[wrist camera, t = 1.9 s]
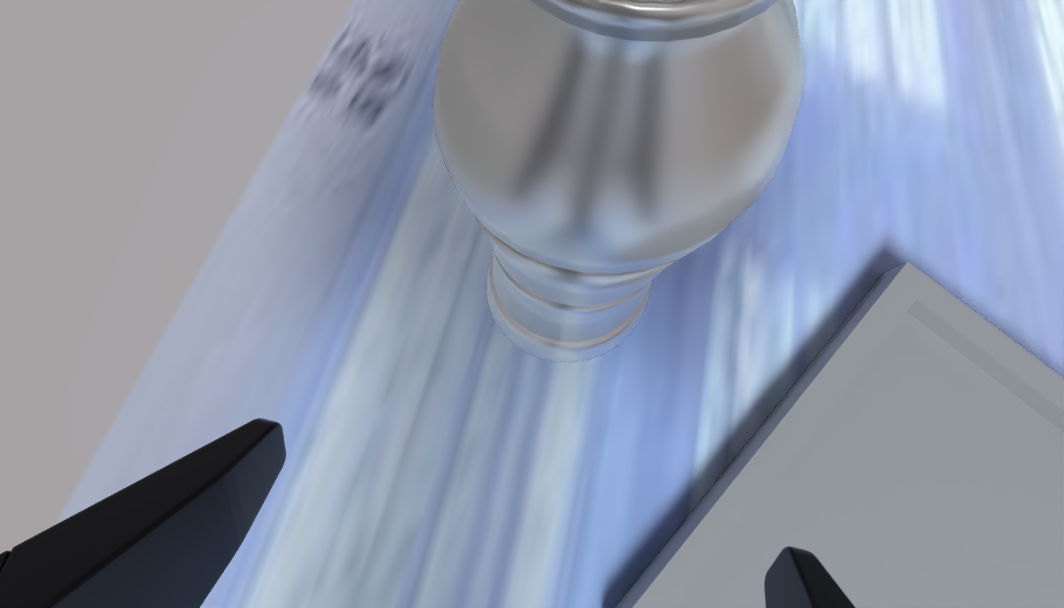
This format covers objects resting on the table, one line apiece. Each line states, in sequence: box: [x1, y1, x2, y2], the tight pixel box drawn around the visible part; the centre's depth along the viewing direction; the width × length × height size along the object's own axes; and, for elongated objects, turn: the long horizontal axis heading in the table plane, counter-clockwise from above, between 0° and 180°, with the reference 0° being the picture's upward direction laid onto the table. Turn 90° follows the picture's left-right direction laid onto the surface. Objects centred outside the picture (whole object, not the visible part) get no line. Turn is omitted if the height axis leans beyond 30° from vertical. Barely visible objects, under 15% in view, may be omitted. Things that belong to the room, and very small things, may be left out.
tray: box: [615, 262, 1064, 608], centre depth 20 cm, size 20×18×2 cm
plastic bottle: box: [433, 0, 804, 362], centre depth 14 cm, size 6×7×20 cm
